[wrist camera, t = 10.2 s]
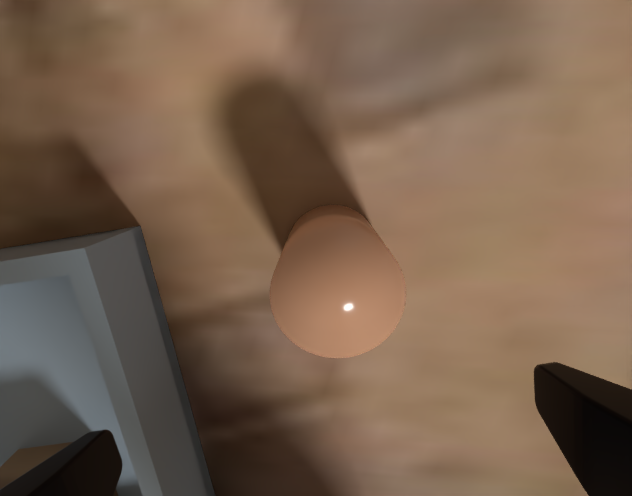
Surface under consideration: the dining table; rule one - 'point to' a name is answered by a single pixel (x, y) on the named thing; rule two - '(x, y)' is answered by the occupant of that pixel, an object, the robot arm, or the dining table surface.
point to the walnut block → (28, 462)
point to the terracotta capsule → (336, 284)
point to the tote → (95, 360)
